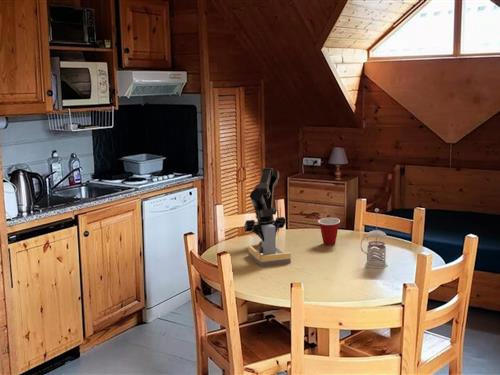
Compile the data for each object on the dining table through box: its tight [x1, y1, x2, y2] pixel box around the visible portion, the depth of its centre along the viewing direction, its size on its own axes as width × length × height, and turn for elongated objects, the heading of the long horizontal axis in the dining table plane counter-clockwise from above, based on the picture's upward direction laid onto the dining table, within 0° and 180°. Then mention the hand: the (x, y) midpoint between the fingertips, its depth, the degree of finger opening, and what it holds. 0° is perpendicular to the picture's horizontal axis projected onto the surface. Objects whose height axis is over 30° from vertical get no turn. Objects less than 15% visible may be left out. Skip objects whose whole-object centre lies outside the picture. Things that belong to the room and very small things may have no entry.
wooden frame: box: [248, 245, 292, 267], centre depth 267 cm, size 18×14×4 cm
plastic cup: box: [317, 217, 341, 246], centre depth 289 cm, size 11×11×12 cm
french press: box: [360, 208, 389, 269], centre depth 253 cm, size 10×12×25 cm
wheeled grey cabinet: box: [258, 224, 277, 255], centre depth 264 cm, size 8×7×13 cm
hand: (269, 240), depth 264 cm, fingers closed on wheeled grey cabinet, 5 cm apart
